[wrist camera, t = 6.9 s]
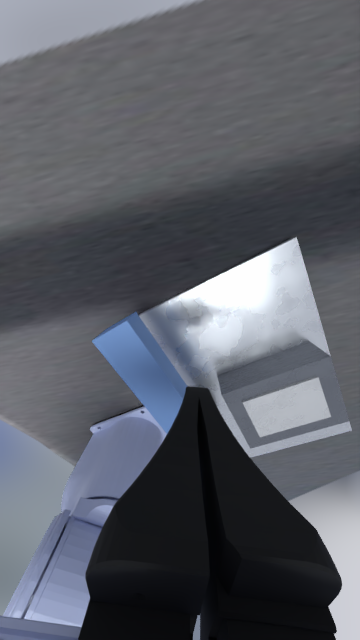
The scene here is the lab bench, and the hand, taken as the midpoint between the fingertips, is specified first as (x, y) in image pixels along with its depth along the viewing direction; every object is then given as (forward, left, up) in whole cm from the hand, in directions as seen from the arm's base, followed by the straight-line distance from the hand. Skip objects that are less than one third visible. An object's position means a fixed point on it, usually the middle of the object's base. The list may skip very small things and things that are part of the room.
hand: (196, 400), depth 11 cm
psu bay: (+4, -7, -9) cm, 12 cm away
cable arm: (-3, -3, -4) cm, 5 cm away
